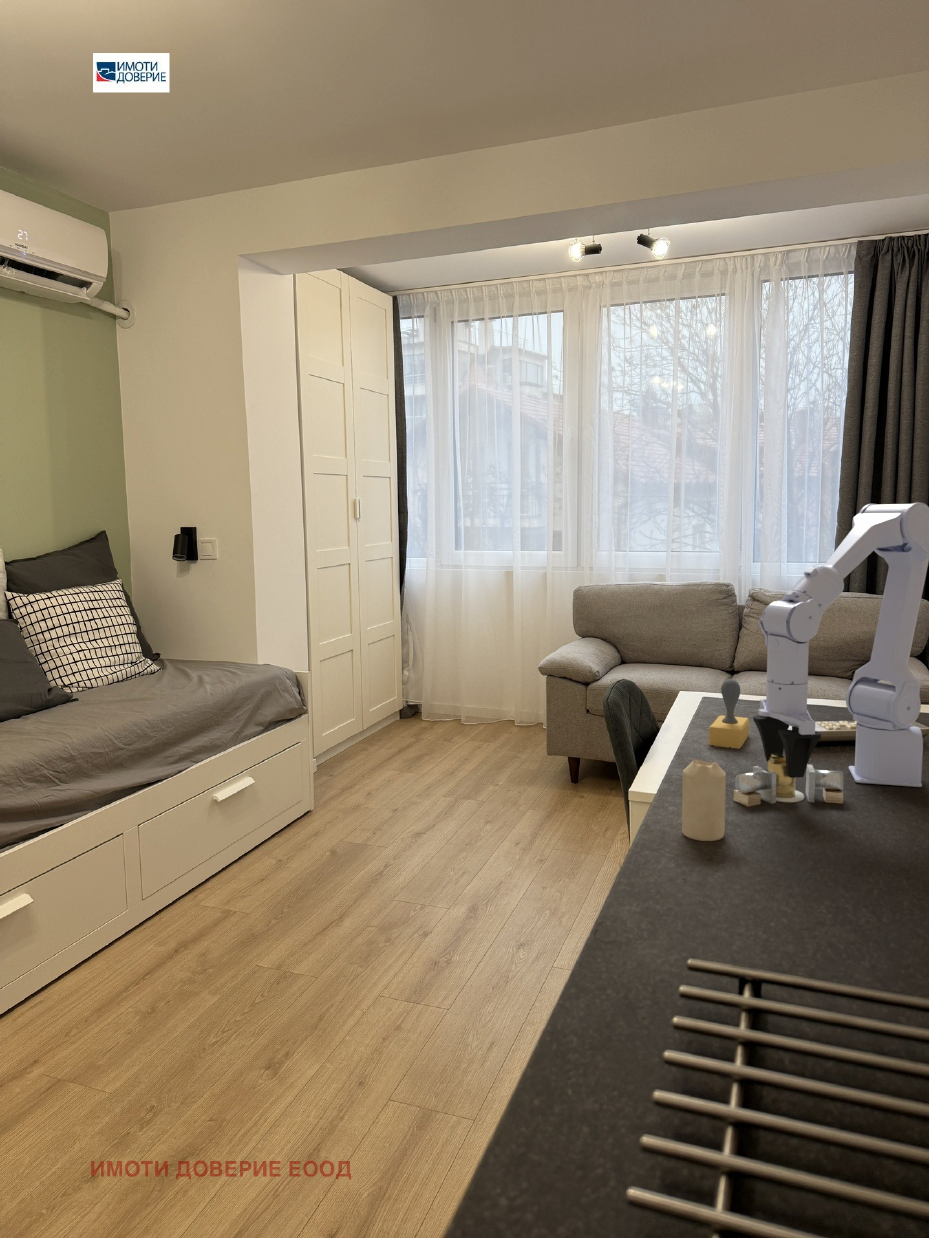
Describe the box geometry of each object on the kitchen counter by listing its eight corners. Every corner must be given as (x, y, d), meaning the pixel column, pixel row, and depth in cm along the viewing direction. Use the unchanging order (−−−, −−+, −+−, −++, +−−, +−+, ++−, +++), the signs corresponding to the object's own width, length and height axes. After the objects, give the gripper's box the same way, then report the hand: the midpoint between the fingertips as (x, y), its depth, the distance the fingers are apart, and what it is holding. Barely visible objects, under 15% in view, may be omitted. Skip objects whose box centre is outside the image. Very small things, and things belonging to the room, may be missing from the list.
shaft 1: (756, 794, 127) (757, 765, 126) (775, 802, 123) (776, 772, 123) (731, 799, 125) (732, 769, 124) (750, 807, 121) (751, 777, 121)
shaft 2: (808, 801, 124) (809, 771, 123) (805, 793, 127) (806, 764, 127) (843, 804, 122) (844, 774, 122) (839, 795, 126) (840, 766, 125)
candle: (726, 829, 113) (728, 758, 112) (721, 844, 108) (723, 769, 107) (685, 823, 115) (687, 754, 114) (678, 837, 110) (679, 764, 109)
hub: (782, 788, 129) (784, 752, 128) (800, 796, 125) (802, 759, 124) (761, 791, 128) (762, 754, 127) (779, 799, 124) (780, 761, 123)
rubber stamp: (740, 749, 152) (742, 685, 151) (708, 745, 155) (710, 682, 153) (749, 736, 161) (750, 675, 160) (718, 733, 164) (719, 673, 162)
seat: (802, 791, 128) (802, 789, 128) (806, 803, 123) (806, 801, 123) (761, 787, 130) (761, 786, 130) (763, 800, 124) (763, 798, 124)
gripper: (742, 672, 131) (740, 756, 133) (782, 691, 117) (779, 785, 119) (785, 671, 132) (783, 754, 133) (830, 690, 117) (827, 783, 119)
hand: (784, 768), depth 126 cm, fingers open, 7 cm apart
